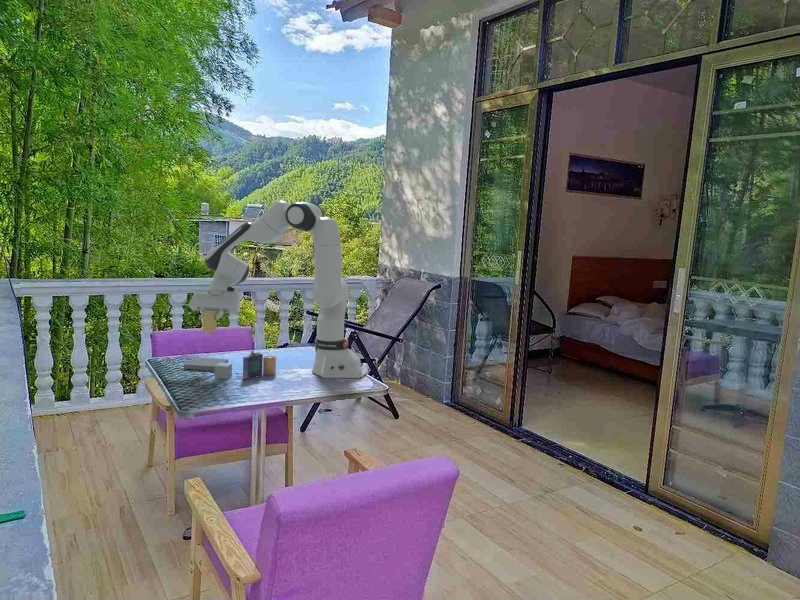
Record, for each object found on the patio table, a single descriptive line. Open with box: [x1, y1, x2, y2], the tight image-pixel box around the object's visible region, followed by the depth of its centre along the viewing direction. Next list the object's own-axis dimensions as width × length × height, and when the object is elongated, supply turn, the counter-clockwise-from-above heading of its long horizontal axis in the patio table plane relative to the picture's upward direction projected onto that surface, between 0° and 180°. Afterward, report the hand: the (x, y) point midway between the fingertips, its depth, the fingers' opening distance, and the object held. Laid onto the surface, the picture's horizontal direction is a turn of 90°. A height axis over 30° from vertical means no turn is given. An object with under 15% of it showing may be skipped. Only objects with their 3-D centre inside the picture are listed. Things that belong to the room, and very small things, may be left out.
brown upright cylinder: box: [262, 355, 277, 376], centre depth 224 cm, size 5×5×7 cm
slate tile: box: [183, 356, 229, 372], centre depth 230 cm, size 14×12×2 cm
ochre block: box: [202, 311, 218, 334], centre depth 227 cm, size 4×4×8 cm
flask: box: [242, 349, 264, 381], centre depth 218 cm, size 9×3×11 cm, turn 146°
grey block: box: [214, 362, 233, 380], centre depth 217 cm, size 5×5×5 cm
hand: (209, 318), depth 226 cm, fingers closed on ochre block, 4 cm apart
